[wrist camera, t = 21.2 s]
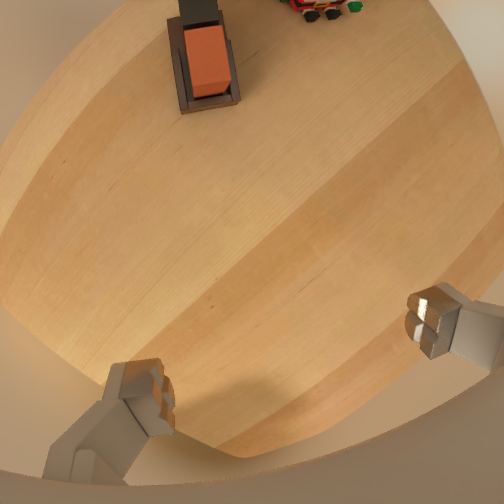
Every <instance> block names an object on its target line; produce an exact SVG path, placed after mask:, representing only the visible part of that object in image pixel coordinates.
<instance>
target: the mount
mask: <svg viewBox="0 0 504 504" xmlns="http://www.w3.org/2000/svg"><path fill="white" fill-rule="evenodd" d="M178 3H179V10H180V17H175V18H170V19H167V26H168V33H169V40H170V47H171V56H172V62H173V69H174V75H175V81H176V87H177V93H178V99H179V105H180V111H181V114H182V115H183V114H188V113H193V112H198V111H203V110H208V109H214V108H220V107H226V106H232V105H237V104H238V102H239V101H240V100H241V98H240V93H239V87H238V81H237V75H236V69H235V64H234V58H233V52H232V47H231V41H230V40H227V37H226V31H225V26H224V20H223V15H222V10H218V5H217V0H178ZM218 25H222V27H223V32H224V38H225V44H226V50H227V56H228V61H229V67H230V73H231V81H230V83H229V85H228V87H227V89H226V91H225V92H224V94H223V95H222V96H216V97H210V98H204V99H199V100H194V95H193V89H192V83H191V77H190V71H189V64H188V58H187V50H186V43H185V35H184V31H186V30H192V29H198V28H204V27H211V26H218Z"/></svg>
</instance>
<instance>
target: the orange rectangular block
mask: <svg viewBox="0 0 504 504" xmlns="http://www.w3.org/2000/svg"><path fill="white" fill-rule="evenodd" d="M184 35H185V43H186V50H187V58H188V64H189V71H190V77H191V83H192V89H193V95H194V100H199V99H204V98H210V97H216V96H222V95H223V94H224V92H225V91H226V89H227V87H228V85H229V83H230V81H231V73H230V67H229V61H228V56H227V50H226V44H225V38H224V32H223V27H222V25H218V26H211V27H204V28H198V29H192V30H186V31H184Z"/></svg>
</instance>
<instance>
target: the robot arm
mask: <svg viewBox="0 0 504 504" xmlns="http://www.w3.org/2000/svg"><path fill="white" fill-rule="evenodd" d="M407 306H408V308H409V309H410V310H409V312H408V313H407V315H406V317H405V328H406V332H407V334H408V336H409V337H410V338H411V340H412V341H414V342H417V343H420V349H421V350H422V351H423V352H424V354H425V355H426V356H427V357H428V358H429V359H430V360H432V359H434V358H436V357H438V356H441V355H443V354H445V353H447V352H449V353H451V354H453V355H456V356H458V357H460V358H462V359H465V360H467V361H469V362H472V363H474V364H476V365H479V366H481V367H483V368H486V369H488V370H490V373H489V375H488V376H487V377H485V378H484V379H482V380H481V381H479V382H478V383H476V384H475V385H473V386H472V387H470V388H468V389H467V390H465V391H464V392H462V393H460V394H459V395H457V396H455V397H454V398H452V399H450V400H449V401H447V402H445V403H443V404H442V405H440V406H438V407H436V408H434V409H432V410H431V411H429V412H427V413H425V414H423V415H421V416H419V417H417V418H415V419H413V420H411V421H409V422H407V423H405V424H403V425H401V426H399V427H396V428H394V429H392V430H390V431H387V432H385V433H383V434H380V435H378V436H376V437H373V438H371V439H368V440H366V441H363V442H361V443H358V444H356V445H353V446H350V447H347V448H345V449H342V450H339V451H336V452H333V453H330V454H327V455H324V456H321V457H317V458H314V459H311V460H307V461H304V462H301V463H297V464H293V465H289V466H285V467H281V468H277V469H273V470H268V471H264V472H259V473H254V474H249V475H244V476H239V477H233V478H226V479H220V480H213V481H205V482H195V483H185V484H172V485H152V486H129V485H128V484H127V483H126V482H125V481H124V480H123V477H124V476H125V474H126V473H127V471H128V470H129V468H130V467H131V465H132V464H133V462H134V461H135V459H136V458H137V456H138V455H139V453H140V451H141V450H142V448H143V447H144V445H145V444H146V442H147V441H148V439H149V438H148V437H153V436H162V435H169V434H175V416H174V414H173V412H172V409H173V408H174V407H175V395H174V390H173V387H172V383H171V381H170V379H169V378H168V377H167V376H165V375H164V366H163V364H162V362H161V359H159V358H153V359H145V360H137V361H128V362H121V363H114V364H113V365H112V366H111V368H110V372H109V375H108V379H107V383H106V386H105V390H104V394H103V398H102V400H101V401H97V402H96V403H95V404H94V405H93V406H92V407H91V408H90V409H89V410H88V411H87V412H85V414H83V415H82V416H81V417H80V418H79V419H78V420H77V421H76V422H75V423H74V424H73V425H72V426H71V427H70V428H69V429H68V430H67V431H66V432H65V433H64V434H63V435H62V436H61V437H60V438H59V439H57V441H55V442H54V443H53V444H52V445H51V447H50V450H49V453H48V457H47V460H46V464H45V468H44V472H43V476H42V478H37V477H32V476H27V475H22V474H17V473H13V472H8V471H5V470H0V504H504V307H503V306H499V305H494V304H490V303H485V302H480V301H476V300H475V301H471V300H470V299H469V298H467V297H466V296H464V295H463V294H462V293H460V292H459V291H458V290H456V289H455V288H453V287H452V286H450V285H449V284H448V283H445V282H441V283H439V284H436V285H434V286H432V287H430V288H427V289H424V290H422V291H419V292H416V293H413V294H411V295H410V296H409V298H408V301H407Z"/></svg>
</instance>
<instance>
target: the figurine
mask: <svg viewBox="0 0 504 504" xmlns="http://www.w3.org/2000/svg"><path fill="white" fill-rule="evenodd" d="M285 1H289V2H290V4H291V6H292V8H293V10H295V11H299V10H302V11H303V12H302V15H303V14H304V16H305V19H306V21H307V22H314V21H315V20H317V19H318V18H319V17H320V15H319V12H318V11H315V9H317V8H324V10H323V12H325V13H326V15H327V18H328V20H333V19H336V18H338V17H339V16H340V15H342V14H341V12H340V10H335V9H336V7H335V6H336V5H338V4H342V3H343V2H344V0H280V2H285ZM358 1H359V0H345V4H346V5H348V7H349V9H350V12H351V13H352V12H359V11H360V10H361V8H362V7H363V5H362V2H358ZM314 11H315V12H314Z"/></svg>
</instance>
